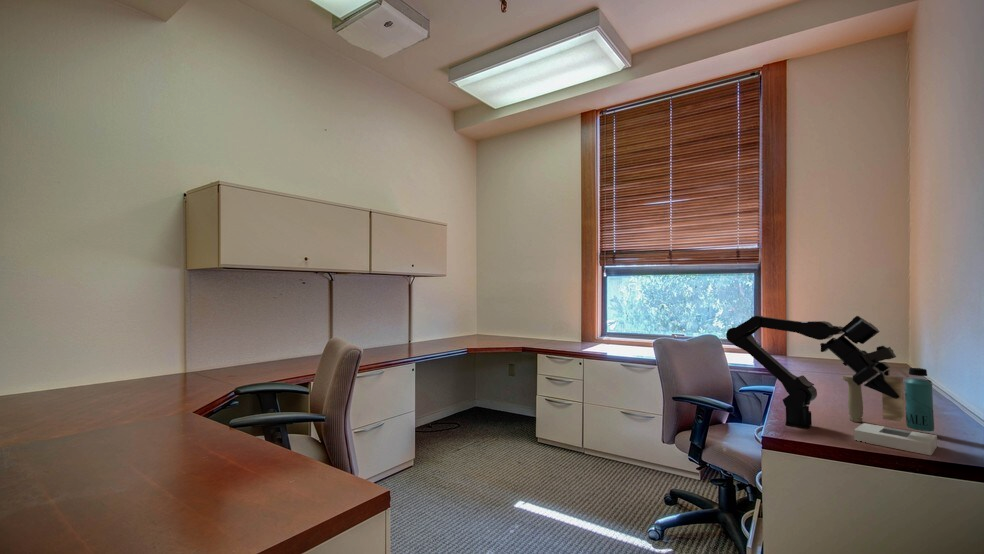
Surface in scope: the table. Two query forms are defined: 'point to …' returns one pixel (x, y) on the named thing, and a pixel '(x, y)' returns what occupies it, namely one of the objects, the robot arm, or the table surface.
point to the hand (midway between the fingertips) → (899, 396)
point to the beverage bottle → (919, 401)
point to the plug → (894, 400)
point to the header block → (896, 438)
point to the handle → (854, 399)
